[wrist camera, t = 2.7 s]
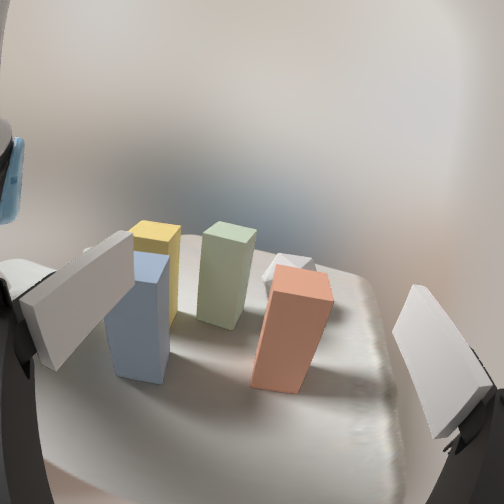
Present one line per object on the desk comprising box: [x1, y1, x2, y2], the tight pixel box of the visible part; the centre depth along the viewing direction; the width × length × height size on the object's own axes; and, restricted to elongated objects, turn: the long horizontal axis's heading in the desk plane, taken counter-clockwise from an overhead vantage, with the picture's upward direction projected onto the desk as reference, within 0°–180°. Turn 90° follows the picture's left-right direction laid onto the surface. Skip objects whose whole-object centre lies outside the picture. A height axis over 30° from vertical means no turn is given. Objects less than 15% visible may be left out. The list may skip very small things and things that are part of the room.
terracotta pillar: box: [250, 264, 334, 394], centre depth 27 cm, size 5×5×12 cm
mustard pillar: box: [128, 220, 181, 329], centre depth 32 cm, size 5×5×12 cm
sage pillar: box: [196, 221, 257, 330], centre depth 35 cm, size 5×5×12 cm
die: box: [262, 253, 316, 300], centre depth 41 cm, size 8×9×10 cm
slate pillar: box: [104, 251, 170, 385], centre depth 25 cm, size 5×5×12 cm
